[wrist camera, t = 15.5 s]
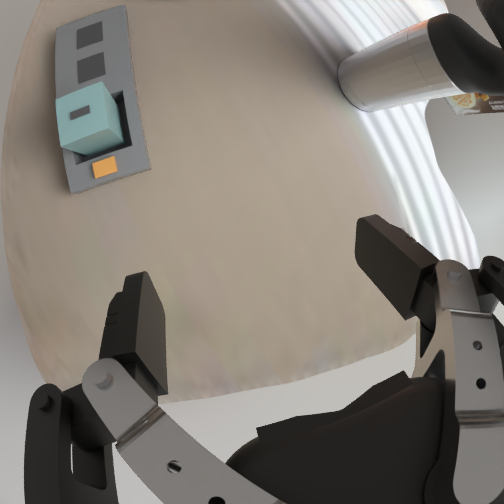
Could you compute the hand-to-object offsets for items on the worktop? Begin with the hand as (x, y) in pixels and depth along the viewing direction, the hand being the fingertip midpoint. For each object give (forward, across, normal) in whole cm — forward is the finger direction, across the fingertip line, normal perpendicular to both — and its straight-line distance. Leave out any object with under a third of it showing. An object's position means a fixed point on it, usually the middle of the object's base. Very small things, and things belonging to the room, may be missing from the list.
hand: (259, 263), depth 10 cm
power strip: (+25, +11, -10) cm, 29 cm away
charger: (+24, +11, -5) cm, 27 cm away
